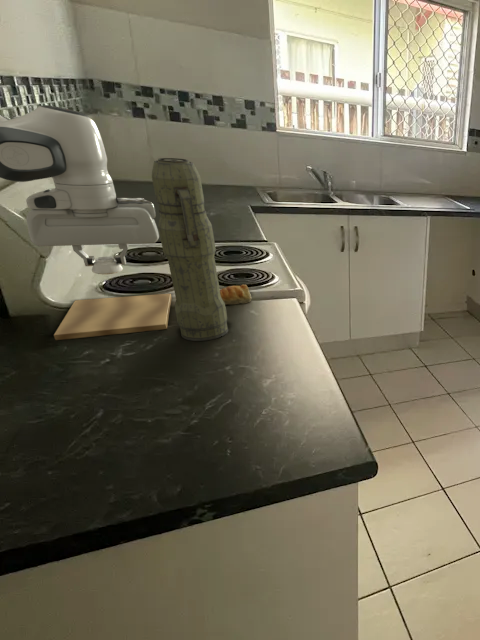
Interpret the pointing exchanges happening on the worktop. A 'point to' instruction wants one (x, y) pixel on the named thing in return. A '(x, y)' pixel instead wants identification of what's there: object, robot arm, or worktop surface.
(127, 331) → the board
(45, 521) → the worktop surface
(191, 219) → the beige stone tall figure
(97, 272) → the white bowl
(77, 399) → the worktop surface
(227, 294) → the pastry
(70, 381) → the worktop surface
